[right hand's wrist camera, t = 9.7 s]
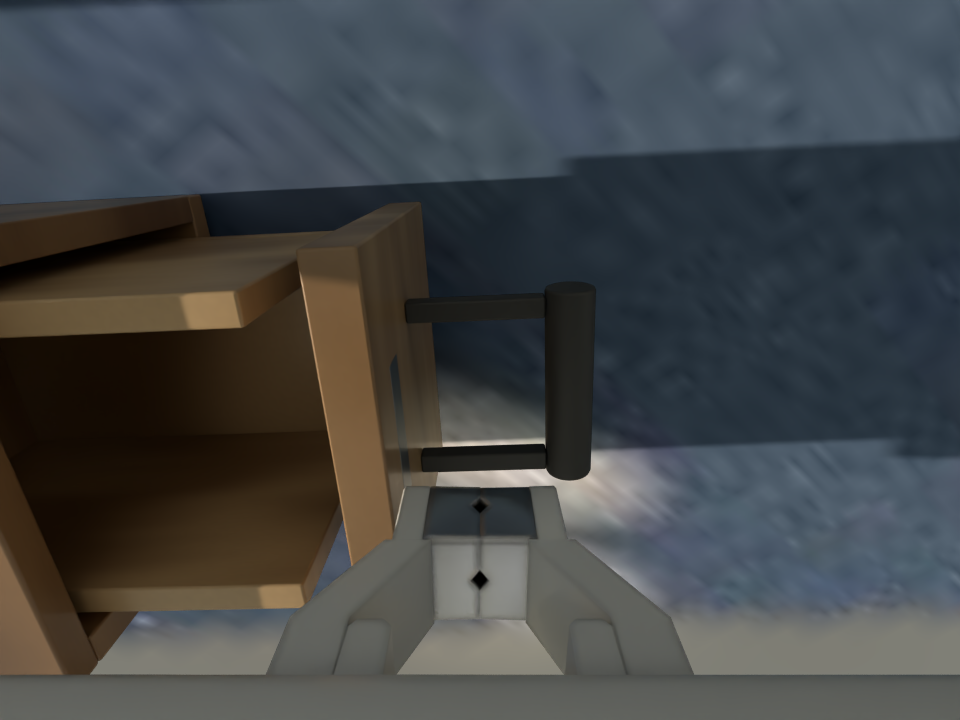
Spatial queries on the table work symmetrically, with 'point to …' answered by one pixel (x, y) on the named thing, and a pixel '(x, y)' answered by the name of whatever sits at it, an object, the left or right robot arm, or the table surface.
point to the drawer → (249, 405)
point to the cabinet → (3, 505)
